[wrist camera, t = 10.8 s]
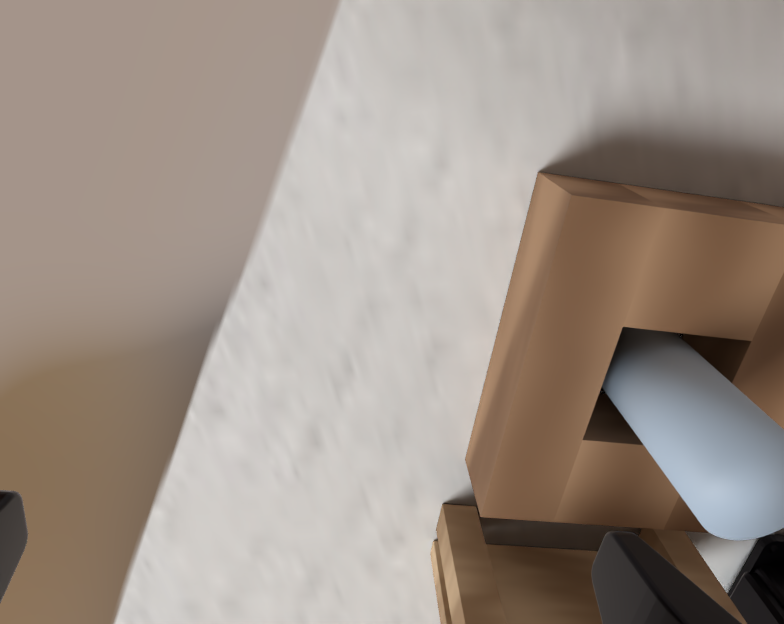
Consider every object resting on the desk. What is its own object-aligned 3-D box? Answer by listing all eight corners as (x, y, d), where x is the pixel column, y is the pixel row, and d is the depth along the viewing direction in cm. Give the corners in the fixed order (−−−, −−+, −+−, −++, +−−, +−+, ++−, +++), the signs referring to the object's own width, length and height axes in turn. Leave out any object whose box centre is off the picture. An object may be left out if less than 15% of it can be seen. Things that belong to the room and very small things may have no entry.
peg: (677, 312, 21) (843, 449, 14) (649, 384, 23) (787, 543, 15) (597, 303, 21) (725, 438, 14) (573, 376, 22) (678, 536, 15)
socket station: (824, 212, 20) (1201, 347, 11) (654, 567, 27) (800, 820, 18) (523, 170, 19) (677, 282, 10) (430, 553, 26) (469, 818, 17)
